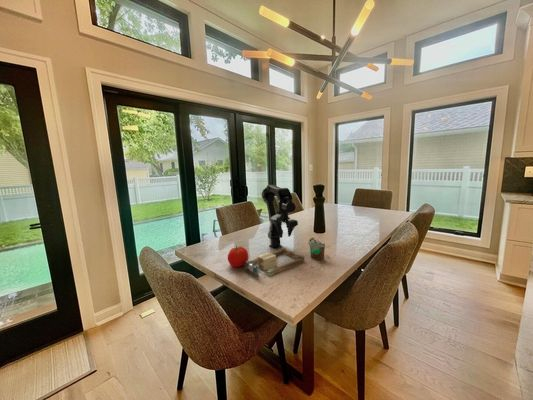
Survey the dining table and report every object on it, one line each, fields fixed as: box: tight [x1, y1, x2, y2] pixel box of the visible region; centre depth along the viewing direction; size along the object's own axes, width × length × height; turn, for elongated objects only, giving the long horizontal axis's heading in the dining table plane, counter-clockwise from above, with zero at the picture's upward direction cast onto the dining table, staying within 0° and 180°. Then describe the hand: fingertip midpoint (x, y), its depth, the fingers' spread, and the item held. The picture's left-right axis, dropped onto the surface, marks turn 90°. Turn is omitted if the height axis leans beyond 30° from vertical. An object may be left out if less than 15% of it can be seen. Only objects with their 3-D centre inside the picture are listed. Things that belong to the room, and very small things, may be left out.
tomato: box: [227, 245, 249, 268], centre depth 122 cm, size 12×12×10 cm
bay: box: [249, 247, 305, 277], centre depth 124 cm, size 18×26×3 cm
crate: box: [257, 252, 277, 272], centre depth 119 cm, size 6×8×6 cm
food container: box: [307, 237, 326, 261], centre depth 128 cm, size 12×6×10 cm, turn 21°
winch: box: [244, 259, 261, 278], centre depth 113 cm, size 13×6×6 cm, turn 37°
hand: (284, 234), depth 133 cm, fingers open, 9 cm apart
